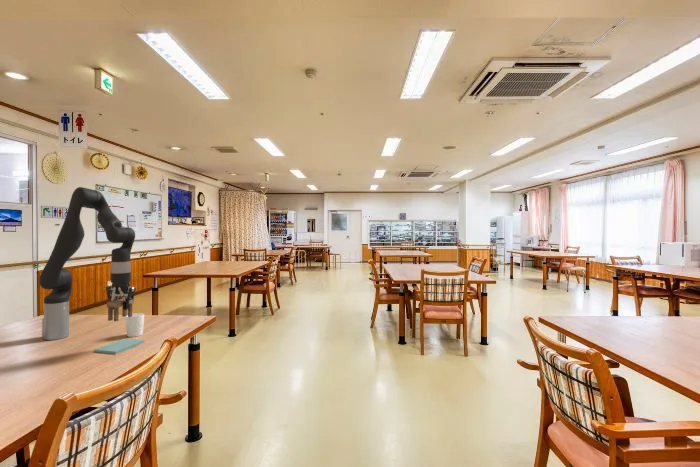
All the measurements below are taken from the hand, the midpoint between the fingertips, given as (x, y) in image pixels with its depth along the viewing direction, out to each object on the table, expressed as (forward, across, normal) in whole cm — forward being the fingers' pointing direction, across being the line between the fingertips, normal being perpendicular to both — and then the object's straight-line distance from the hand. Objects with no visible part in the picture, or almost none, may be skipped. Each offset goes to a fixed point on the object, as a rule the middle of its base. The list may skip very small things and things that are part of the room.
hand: (120, 309), depth 148 cm
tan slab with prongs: (+4, 0, 0) cm, 4 cm away
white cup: (+17, +8, -16) cm, 25 cm away
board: (+17, 0, 0) cm, 17 cm away
